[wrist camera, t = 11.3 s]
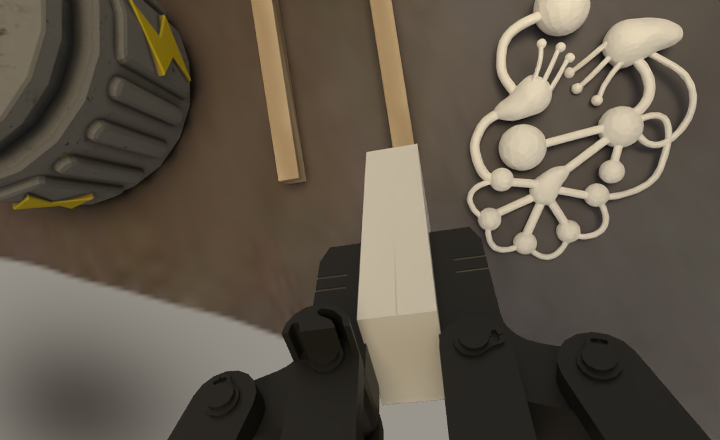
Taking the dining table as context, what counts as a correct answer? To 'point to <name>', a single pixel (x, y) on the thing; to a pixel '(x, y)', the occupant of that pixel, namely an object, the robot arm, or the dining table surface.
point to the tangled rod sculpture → (615, 128)
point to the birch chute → (282, 92)
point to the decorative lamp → (86, 98)
